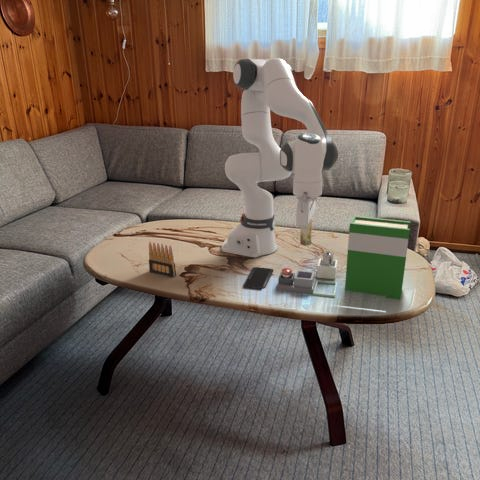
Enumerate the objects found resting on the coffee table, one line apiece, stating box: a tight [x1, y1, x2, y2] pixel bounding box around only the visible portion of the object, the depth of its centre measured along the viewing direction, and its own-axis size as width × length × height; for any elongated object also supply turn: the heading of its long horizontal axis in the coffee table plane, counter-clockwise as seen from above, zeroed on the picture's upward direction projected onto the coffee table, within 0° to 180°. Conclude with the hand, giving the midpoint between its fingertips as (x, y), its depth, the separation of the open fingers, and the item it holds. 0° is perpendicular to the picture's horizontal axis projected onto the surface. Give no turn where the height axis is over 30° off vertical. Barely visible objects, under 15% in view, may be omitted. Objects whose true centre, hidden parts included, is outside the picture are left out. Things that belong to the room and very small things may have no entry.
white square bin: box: [316, 257, 338, 280], centre depth 162 cm, size 6×6×5 cm
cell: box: [299, 218, 313, 247], centre depth 147 cm, size 4×4×9 cm
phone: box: [242, 266, 274, 291], centre depth 162 cm, size 8×1×15 cm
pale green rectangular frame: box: [312, 279, 338, 298], centre depth 153 cm, size 7×9×1 cm
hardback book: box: [344, 215, 412, 301], centre depth 148 cm, size 18×7×24 cm, turn 69°
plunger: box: [281, 267, 293, 279], centre depth 155 cm, size 3×3×3 cm
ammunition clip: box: [148, 241, 177, 278], centre depth 165 cm, size 11×2×12 cm, turn 63°
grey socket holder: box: [276, 269, 317, 295], centre depth 155 cm, size 12×8×5 cm, turn 74°
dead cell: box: [322, 251, 334, 267], centre depth 161 cm, size 4×4×9 cm
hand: (306, 230), depth 147 cm, fingers closed on cell, 4 cm apart
